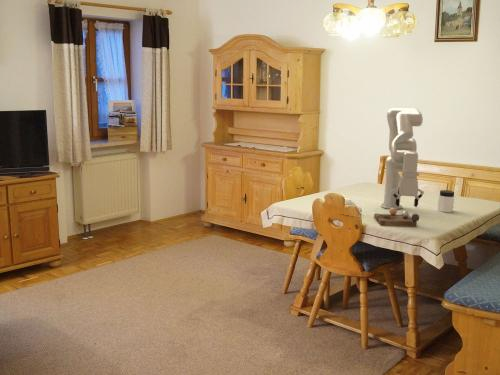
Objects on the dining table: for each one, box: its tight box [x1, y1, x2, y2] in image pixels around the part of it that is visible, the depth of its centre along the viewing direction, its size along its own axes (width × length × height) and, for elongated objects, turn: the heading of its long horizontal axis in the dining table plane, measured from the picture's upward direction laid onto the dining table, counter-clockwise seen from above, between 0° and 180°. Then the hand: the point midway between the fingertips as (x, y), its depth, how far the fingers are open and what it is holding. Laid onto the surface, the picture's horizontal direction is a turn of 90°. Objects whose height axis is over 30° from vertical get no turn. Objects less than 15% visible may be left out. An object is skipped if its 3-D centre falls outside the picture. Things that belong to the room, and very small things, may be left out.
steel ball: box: [401, 210, 410, 218], centre depth 305 cm, size 4×4×4 cm
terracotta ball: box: [389, 208, 398, 215], centre depth 312 cm, size 4×4×4 cm
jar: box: [437, 189, 455, 213], centre depth 337 cm, size 9×8×12 cm
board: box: [373, 213, 418, 228], centre depth 306 cm, size 16×19×2 cm
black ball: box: [411, 213, 420, 222], centre depth 299 cm, size 4×4×4 cm
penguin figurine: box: [344, 197, 363, 213], centre depth 322 cm, size 6×8×12 cm
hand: (406, 206), depth 304 cm, fingers open, 9 cm apart
